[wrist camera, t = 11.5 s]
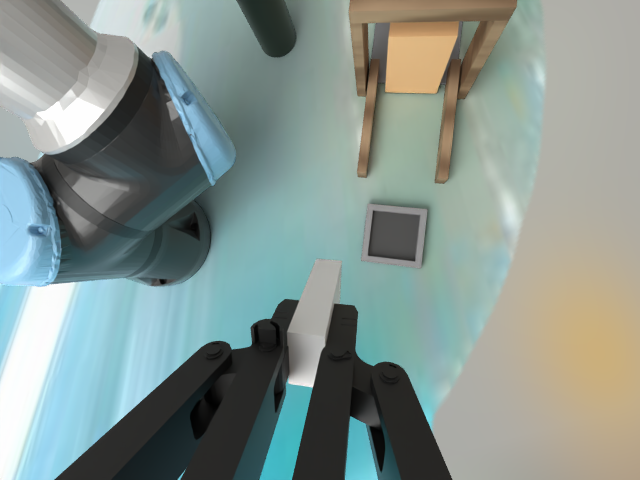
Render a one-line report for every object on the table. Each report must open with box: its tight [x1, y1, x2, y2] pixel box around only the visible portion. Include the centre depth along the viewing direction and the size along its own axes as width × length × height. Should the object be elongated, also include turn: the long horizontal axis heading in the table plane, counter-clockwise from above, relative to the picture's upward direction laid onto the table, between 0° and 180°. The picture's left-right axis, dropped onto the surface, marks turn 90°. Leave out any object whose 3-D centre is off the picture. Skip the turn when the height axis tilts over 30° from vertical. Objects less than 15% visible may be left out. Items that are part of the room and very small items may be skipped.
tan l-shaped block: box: [385, 21, 459, 93], centre depth 37 cm, size 12×7×11 cm, turn 173°
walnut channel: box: [349, 0, 517, 184], centre depth 35 cm, size 16×15×16 cm
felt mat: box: [372, 21, 463, 85], centre depth 43 cm, size 11×12×1 cm
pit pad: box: [361, 204, 428, 268], centre depth 42 cm, size 8×8×1 cm
